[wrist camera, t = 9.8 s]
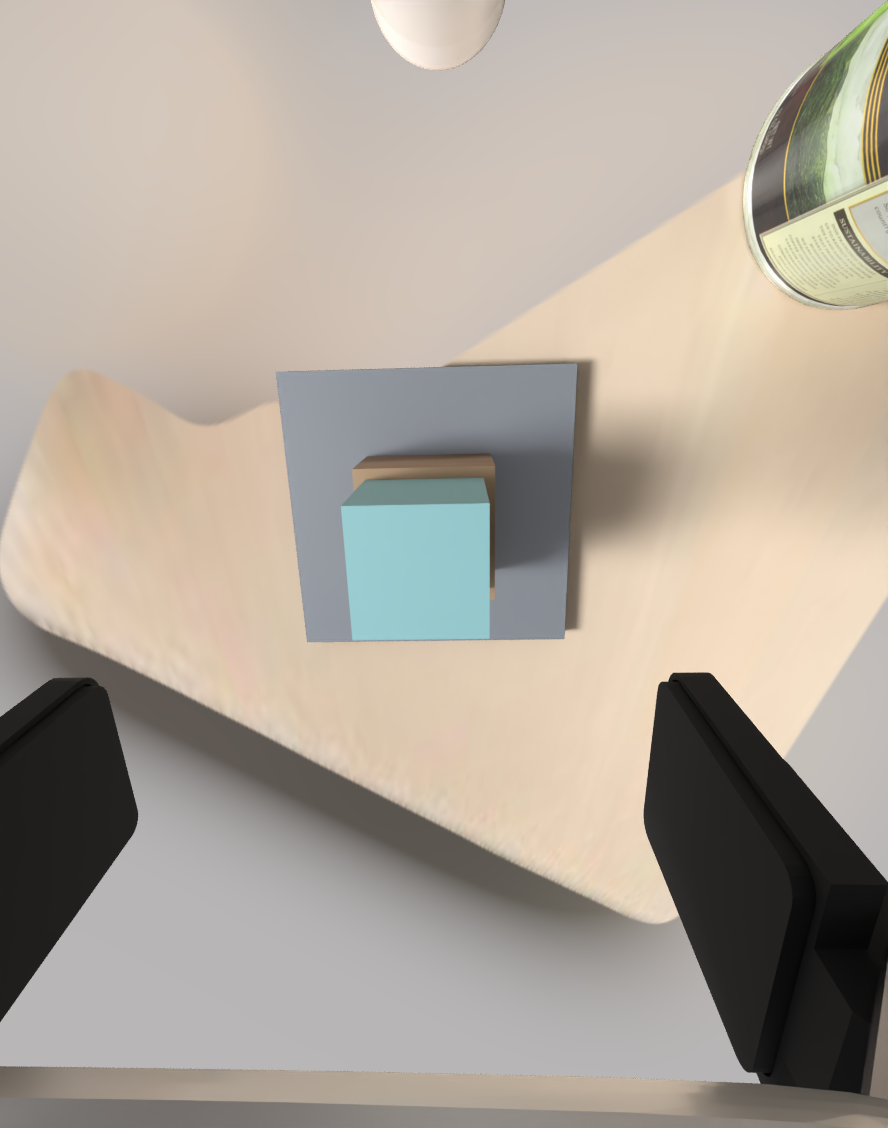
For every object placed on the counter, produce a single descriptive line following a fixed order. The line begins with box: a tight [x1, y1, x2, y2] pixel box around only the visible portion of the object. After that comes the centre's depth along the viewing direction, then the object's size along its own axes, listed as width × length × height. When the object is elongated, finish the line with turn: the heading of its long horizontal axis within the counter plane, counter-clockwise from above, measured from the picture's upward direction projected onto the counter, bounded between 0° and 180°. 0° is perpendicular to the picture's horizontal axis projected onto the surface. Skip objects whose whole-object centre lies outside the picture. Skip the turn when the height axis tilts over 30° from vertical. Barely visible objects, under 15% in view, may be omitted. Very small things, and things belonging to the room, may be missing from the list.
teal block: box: [341, 478, 490, 640], centre depth 22 cm, size 5×5×5 cm
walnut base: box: [352, 453, 495, 600], centre depth 26 cm, size 6×6×4 cm
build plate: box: [276, 363, 577, 642], centre depth 28 cm, size 14×14×1 cm
